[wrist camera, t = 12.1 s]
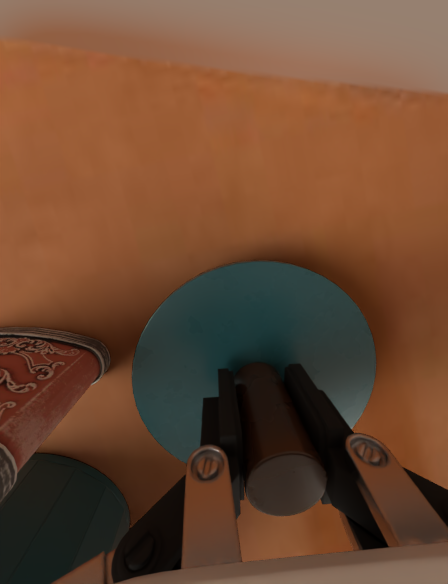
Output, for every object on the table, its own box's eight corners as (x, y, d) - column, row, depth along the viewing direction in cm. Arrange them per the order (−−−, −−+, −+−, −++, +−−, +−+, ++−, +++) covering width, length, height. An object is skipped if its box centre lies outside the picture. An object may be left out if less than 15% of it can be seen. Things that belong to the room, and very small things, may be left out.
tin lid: (374, 252, 12) (545, 269, 6) (351, 451, 15) (446, 598, 9) (122, 264, 11) (18, 298, 5) (153, 467, 14) (110, 635, 8)
